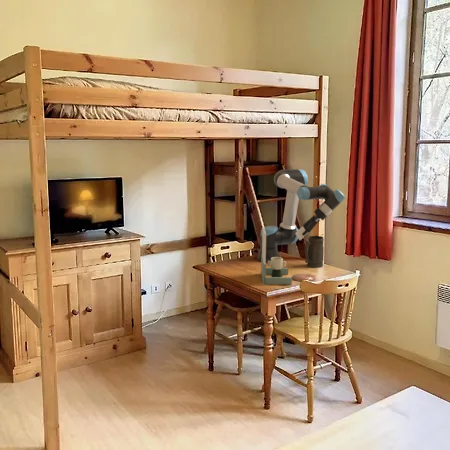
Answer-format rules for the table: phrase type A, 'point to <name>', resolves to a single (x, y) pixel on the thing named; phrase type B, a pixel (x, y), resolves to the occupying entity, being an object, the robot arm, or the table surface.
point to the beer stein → (314, 251)
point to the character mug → (277, 266)
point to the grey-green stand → (268, 271)
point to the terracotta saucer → (304, 277)
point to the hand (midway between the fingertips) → (297, 237)
